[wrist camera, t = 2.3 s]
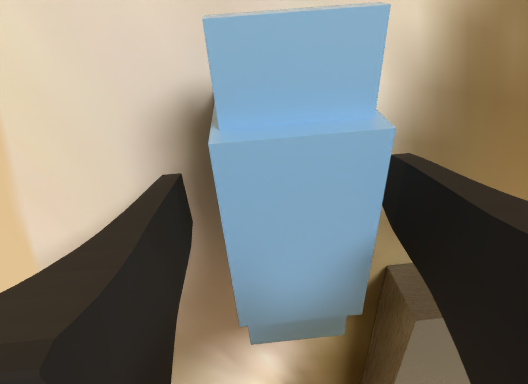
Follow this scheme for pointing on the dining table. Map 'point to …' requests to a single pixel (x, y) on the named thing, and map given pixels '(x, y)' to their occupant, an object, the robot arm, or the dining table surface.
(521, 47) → the dining table surface
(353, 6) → the servo
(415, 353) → the chassis
